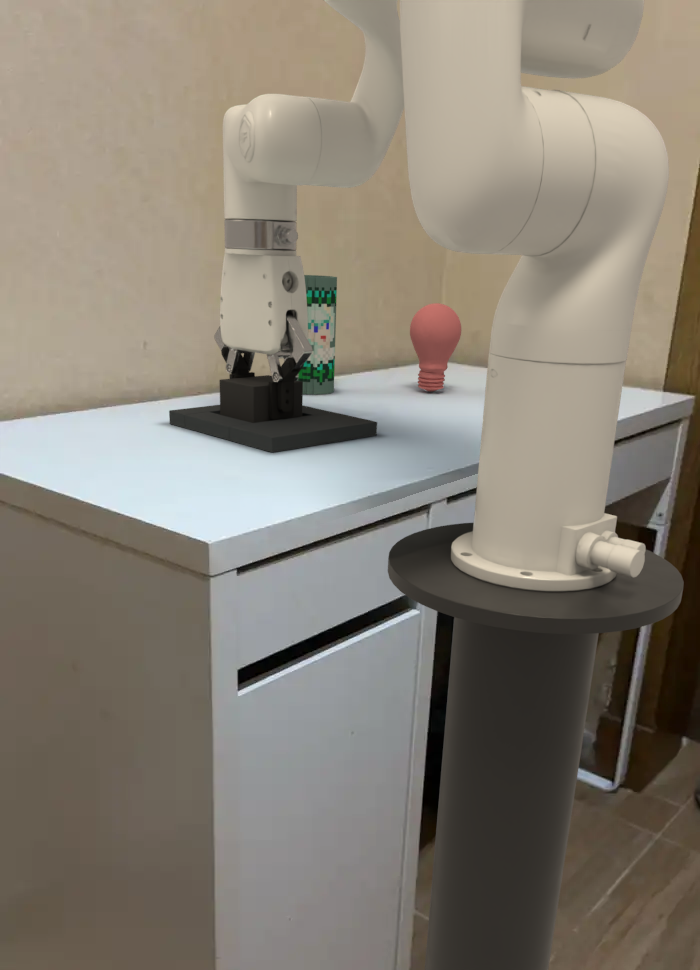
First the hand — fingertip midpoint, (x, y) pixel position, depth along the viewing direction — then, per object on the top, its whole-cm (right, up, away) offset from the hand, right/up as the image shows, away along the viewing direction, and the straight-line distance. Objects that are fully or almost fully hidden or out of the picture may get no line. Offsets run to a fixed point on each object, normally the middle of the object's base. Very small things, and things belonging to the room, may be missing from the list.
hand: (261, 411), depth 105 cm
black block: (0, -1, 0) cm, 1 cm away
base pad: (+1, -2, -1) cm, 2 cm away
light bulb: (+21, +9, +28) cm, 37 cm away
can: (+4, +9, +26) cm, 27 cm away
